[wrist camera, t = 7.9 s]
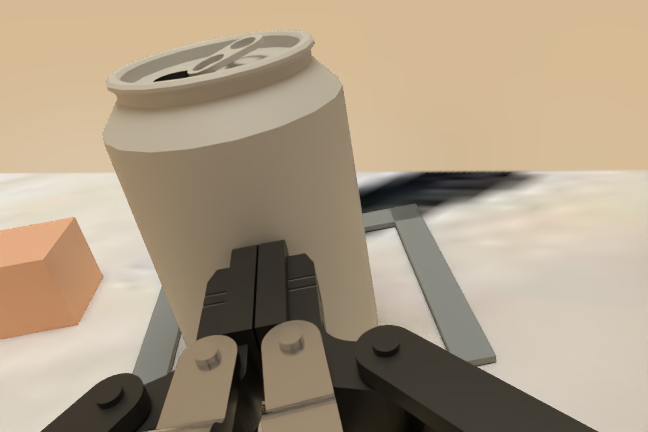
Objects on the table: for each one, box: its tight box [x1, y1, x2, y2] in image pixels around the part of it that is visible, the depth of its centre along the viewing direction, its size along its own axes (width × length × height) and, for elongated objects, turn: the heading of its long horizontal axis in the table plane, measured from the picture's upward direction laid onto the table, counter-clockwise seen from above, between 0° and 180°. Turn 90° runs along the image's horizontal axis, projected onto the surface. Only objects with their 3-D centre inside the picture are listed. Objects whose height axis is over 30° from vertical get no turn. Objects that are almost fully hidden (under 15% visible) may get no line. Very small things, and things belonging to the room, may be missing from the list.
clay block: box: [0, 217, 103, 339], centre depth 25 cm, size 4×4×4 cm
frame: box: [132, 204, 496, 384], centre depth 23 cm, size 14×12×1 cm
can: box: [103, 30, 378, 405], centre depth 18 cm, size 8×8×12 cm
